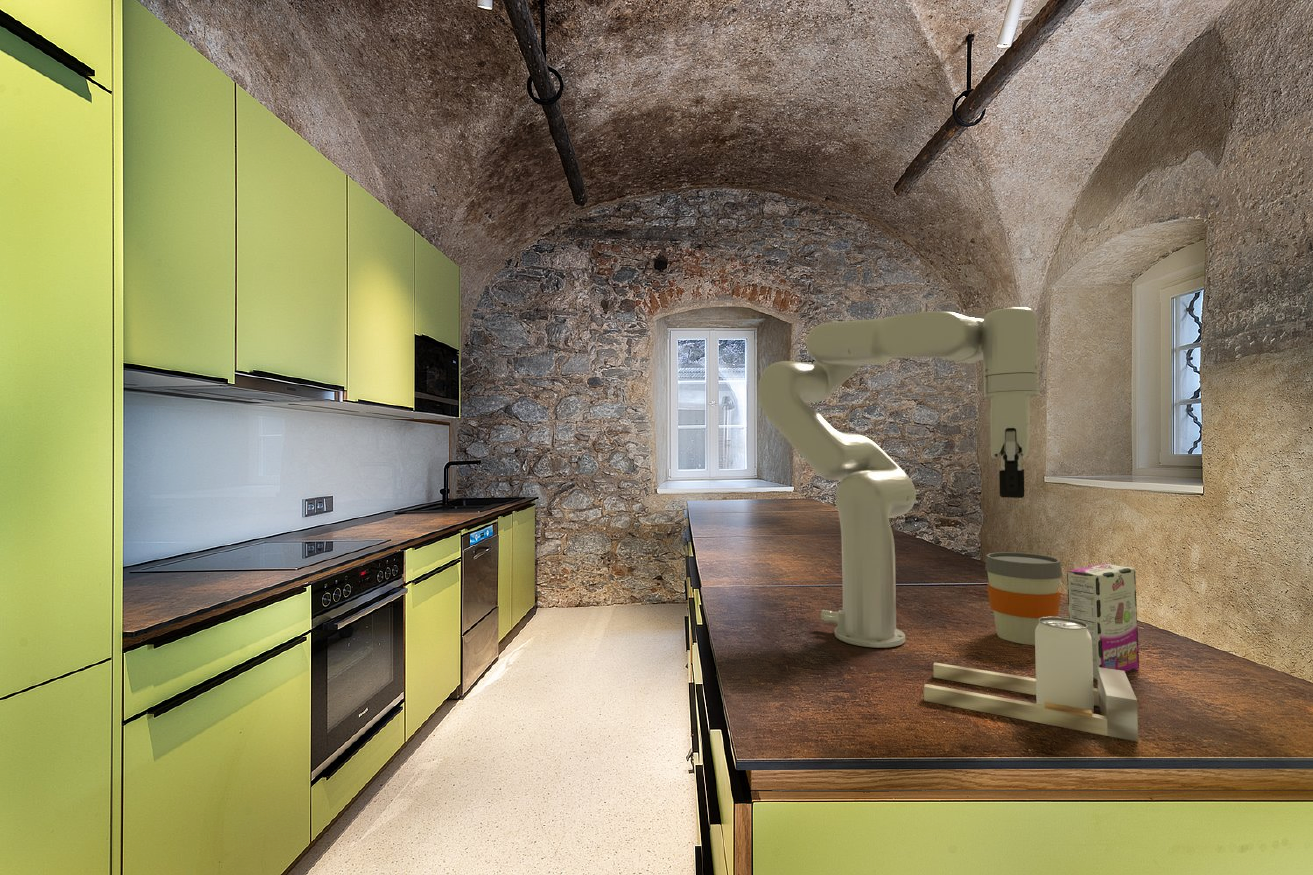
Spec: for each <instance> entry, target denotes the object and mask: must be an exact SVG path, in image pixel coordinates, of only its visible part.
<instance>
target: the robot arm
mask: <svg viewBox="0 0 1313 875" xmlns="http://www.w3.org/2000/svg"><path fill="white" fill-rule="evenodd" d="M805 342H806V343H805V345H806V350H807V353H808V355H809V356H810V357H811V358H812V360H814V362H813V363H809V362H808V363H807V362H802V361H801V362H799V361H793V360H792V361H791V360H784V361H783V360H782V361H777V362H774V363H772V364H770V365H768V366H767V367H766V368H765V369H764V370H763V372H762V373H761V376H760V378H759V382H758V398H759V402H760V406H761V409H762V411H763V413H764V415H765V416H766V417H767V419H768V420H769V422H770V423H771V424H772V425H773V426H774V427H775V428H776V430H778V432H779V433H780V434H781V435H782V436H783V437H784V438H785V439H786V440H787V441H788V442H789V443H790V445H791V446H792V447H793V448H794V450H796V452H797V453H798V454H799V455H800V457H801V458H802V459H804V461H805V462H806V463H807V465H808V466H810V468H812V470H813V471H814V472H815V473H816V474H817V475H818V476H819V477H820V478H822V479H826V480H829V481H830V480H831V481H832V480H833V481H835V480H838V481H839V480H841V481H840V483H839V484H838V487H837V489H836V495H835V498H836V499H835V502H836V509H837V514H838V518H839V524H840V525H839V526H840V535H841V536H840V537H841V538H840V540H841V570H842V571H841V576H842V581H841V582H842V586H841V587H842V610H841V609H840V610H838V611H832V610H830V609H829V610H828V609H827V610H826V609H822V610H821V613H820V617H821V620H823V622H824V623H832V624H835V625H836V627H835V628H834V636H835V638H836V639H837V640H840V641H842V642H844V643H846V644H850V645H854V646H858V647H865V648H875V649H876V648H877V649H879V648H881V649H883V648H884V649H885V648H895V647H898V646H901V645H903V644H904V643H905V642H906V634H905V633H904V632H903V631H902V630H900V629H898V628H897V604H896V602H897V601H896V600H897V598H896V597H897V596H896V588H897V587H896V550H895V549H896V547H895V546H896V545H895V539H894V537H895V536H894V533H893V529H892V526H891V524H890V520H889V519H892V518H897V517H900V516H903V515H905V514H907V513H909V511H911V510H912V508H913V507H914V504H915V503H916V499H917V492H916V487H915V485H914V483H913V481H912V479H911V478H910V477H909V475H908V474H907V473H906V472H905V471H904V470H903V469H902V468H901V467H900V465H899V464H897V463H896V462H895V461H894V460H893V459H892V457H890V456H889V455H888V454H887V453H886V452H885V451H884V450H883V449H882V448H881V447H880V446H879V445H878V444H877V443H876V442H874V440H872V439H870V438H868V437H867V436H865V435H863V434H859V433H854V432H853V433H851V432H850V433H849V432H841V431H838V430H837V429H835V428H834V427H833V426H832V425H831V424H830V423H829V422H828V421H827V420H826V419H825V418H824V417H823V415H821V413H819V412H818V411H817V410H815V409H814V408H813V407H811V406H810V405H808V404H809V403H810V404H811V403H812V404H816V403H820V402H822V401H825V400H826V399H827V398H829V397H831V395H833V394H834V393H835V392H836V391H837V390H838V389H839V388H840V387H841V386H842V385H843V384H844V383H845V382H846V381H848V380H849V378H850V377H852V376H853V375H854V374H855V373H856V372H857V371H858V370H859V369H860V368H861V367H862V366H863V365H871V366H872V365H875V366H877V365H879V366H880V365H881V366H882V365H885V364H887V363H889V362H890V361H891V360H892V359H902V358H903V359H904V358H907V359H908V358H916V359H917V358H932V359H933V358H935V359H936V358H937V359H942V360H948V361H953V362H957V363H963V364H964V363H965V364H966V363H974V362H975V363H976V362H979V361H982V363H983V364H982V365H983V398H985V399H990V400H991V401H990V456H991V458H993V459H998V455H999V454H1000V470H999V472H998V474H999V475H998V476H999V496H1000V498H1013V499H1015V498H1016V499H1022V498H1024V497H1025V469H1024V468H1023V459H1025V458H1026V457H1027V456H1028V452H1029V445H1030V430H1031V429H1030V428H1031V426H1030V424H1031V422H1030V421H1031V419H1030V418H1031V413H1030V412H1031V410H1030V409H1031V402H1030V401H1031V400H1030V398H1031V397H1036V396H1039V395H1040V394H1039V359H1038V358H1039V355H1038V354H1039V351H1038V350H1039V349H1038V346H1039V345H1038V344H1039V343H1038V316H1037V314H1036V312H1035V311H1034V309H1031V308H1030V307H1023V306H1021V307H1020V306H1018V307H1017V306H1016V307H1014V306H1013V307H1005V308H998V309H995V310H992V311H990V312H988V313H987V314H986V315H985V316H984V317H983V318H977V317H976V318H975V317H971V316H970V317H969V316H966V315H963V314H960V313H956V312H952V311H942V310H941V311H923V312H911V313H901V314H900V313H899V314H895V315H891V316H887V317H884V318H883V317H882V318H874V319H873V318H872V319H870V318H869V319H861V320H860V319H859V320H842V321H830V322H828V321H827V322H822V323H820V324H818V325H816V326H815V327H813V328H812V329H811V330H810V332H809V333H808V335H807V337H806V341H805ZM807 403H808V404H807Z"/></svg>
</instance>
